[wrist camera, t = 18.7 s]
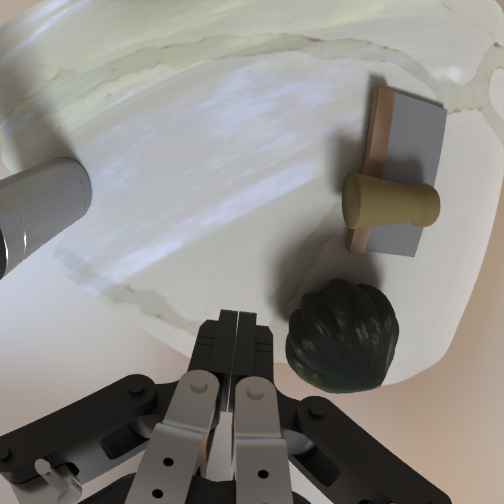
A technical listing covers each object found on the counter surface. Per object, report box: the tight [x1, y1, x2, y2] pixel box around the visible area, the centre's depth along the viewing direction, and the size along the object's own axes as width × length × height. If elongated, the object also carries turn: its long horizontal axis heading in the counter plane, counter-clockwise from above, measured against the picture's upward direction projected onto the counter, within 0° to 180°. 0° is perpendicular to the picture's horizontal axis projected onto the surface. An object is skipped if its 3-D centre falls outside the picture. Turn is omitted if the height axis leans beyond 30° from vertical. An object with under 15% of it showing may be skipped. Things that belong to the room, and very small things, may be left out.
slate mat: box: [365, 92, 447, 257], centre depth 33 cm, size 8×20×1 cm, turn 174°
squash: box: [285, 279, 399, 394], centre depth 37 cm, size 14×15×15 cm
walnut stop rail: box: [346, 86, 395, 254], centre depth 33 cm, size 2×20×2 cm, turn 175°
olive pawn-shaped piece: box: [342, 172, 440, 229], centre depth 32 cm, size 6×6×11 cm
